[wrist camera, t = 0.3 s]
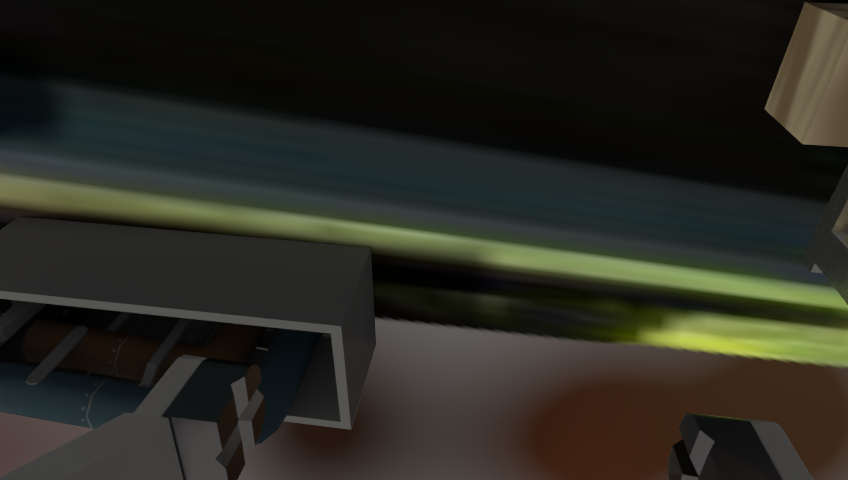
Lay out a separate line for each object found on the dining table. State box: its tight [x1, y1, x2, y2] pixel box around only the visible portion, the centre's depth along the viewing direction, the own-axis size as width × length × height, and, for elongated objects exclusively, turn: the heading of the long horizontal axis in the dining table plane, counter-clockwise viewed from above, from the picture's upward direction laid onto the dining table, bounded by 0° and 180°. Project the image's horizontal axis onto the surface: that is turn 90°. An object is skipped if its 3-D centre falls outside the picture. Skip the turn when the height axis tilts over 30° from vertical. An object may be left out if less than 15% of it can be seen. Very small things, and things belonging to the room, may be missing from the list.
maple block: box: [765, 2, 848, 147], centre depth 38 cm, size 4×8×7 cm, turn 179°
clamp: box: [0, 299, 331, 445], centre depth 55 cm, size 35×9×21 cm, turn 84°
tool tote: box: [0, 217, 376, 429], centre depth 57 cm, size 14×40×12 cm, turn 89°
